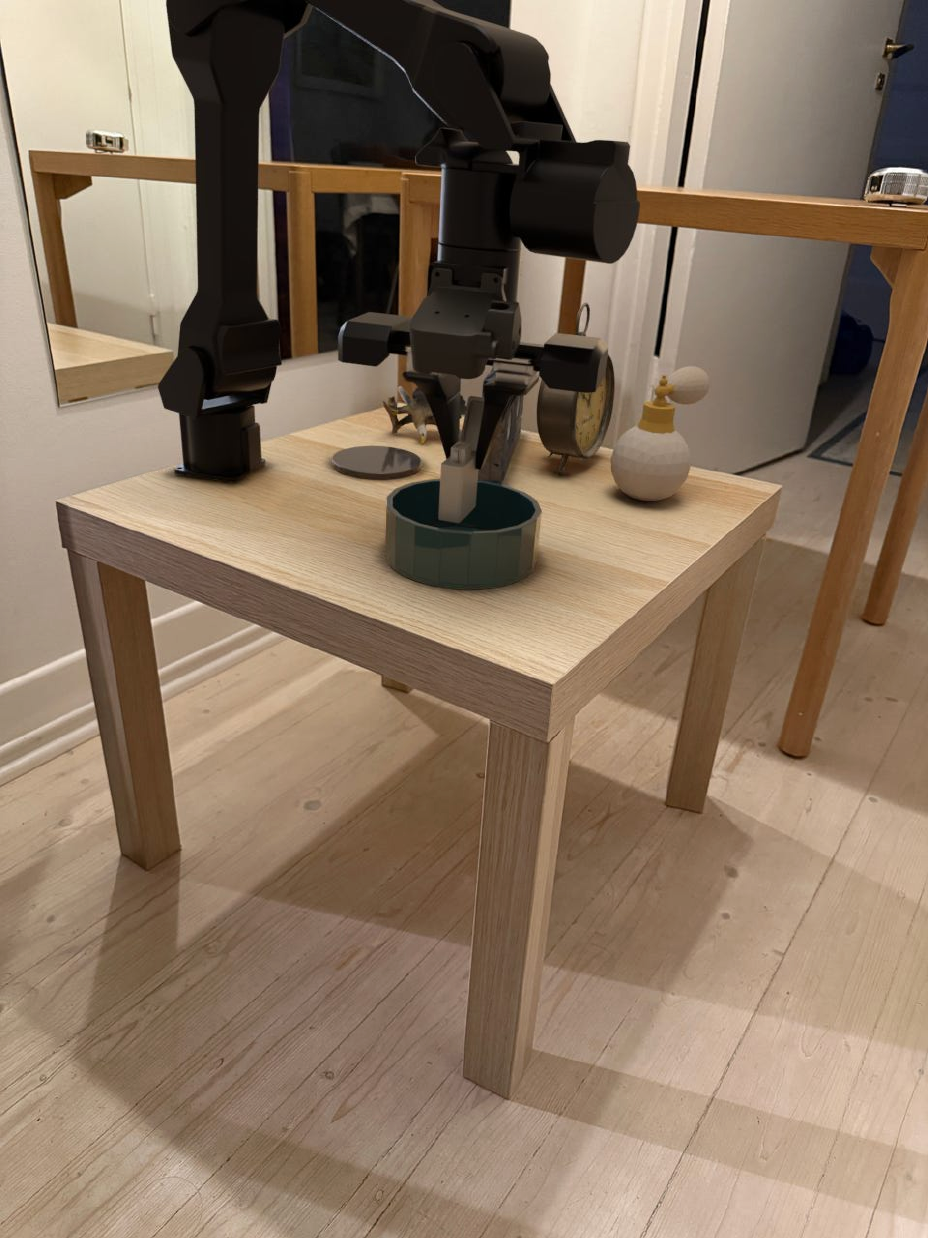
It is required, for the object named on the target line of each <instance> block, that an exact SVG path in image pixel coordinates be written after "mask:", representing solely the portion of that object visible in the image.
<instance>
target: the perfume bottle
mask: <svg viewBox="0 0 928 1238" xmlns="http://www.w3.org/2000/svg"><path fill="white" fill-rule="evenodd" d="M658 383H659V384H658V385H657V386H656V387H655V388H654V390H653V391H654V395H655V398H653V400H651V401H645V402H644V403H643V406H642V414H641V418H640V420H639V422H638V423H637V425H635V426H633V427H631V428H630V429H627V430H626V431H625V432H624V433H623V434H622V435H621V436H620V437H619V439H618V440H617V441H616V442H615V445H614V446H613V449H612V453H611V456H610V472H611V474H612V477H613V481H614V483H615V484H616V485H617V487H618V488H619V489H620V490H621V492H622V493H624V494H626V496H629V497H630V498H632V499H635V500H639V501H641V502H642V501H643V502H659V501H662V500H666V499H669V498H671V497H672V496H673V495H674V494H676V493H677V492H679V490H681V488H682V487H683V485H684V484H685V482H686V481H687V480H688V476H689V474H690V471H691V468H692V467H691V466H692V465H691V463H692V460H691V451H690V448H689V446H688V444H687V441H686V440H685V437H683V436H682V435H681V434H680V433H679V432H678V431H677V430H676V429H675V425H674V420H675V419H674V418H675V411H676V406H675V405H674V404H672V403H669V402H668V400H667V398H668V399H669V400H670V401H672V402H674V403H676V404H679V405H687V406H688V405H692V404H696V403H698V402H700V401H701V400H703V399H704V398H705V397H706V395H707V394H708V392H709V390H710V378H709V376H708V374H707V373H706V371H704V370H703V369H702V368H700V367H698V366H694V365H693V366H692V365H688V366H684V367H681V368H679V369H676V370H675V371H674V372H672V373H671V374H670V375H669V376H668V378H667V375H666V374H662V376H661V378H660V379H659V380H658ZM666 397H667V398H666Z"/></svg>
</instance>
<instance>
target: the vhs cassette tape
mask: <svg viewBox="0 0 928 1238" xmlns="http://www.w3.org/2000/svg"><path fill="white" fill-rule="evenodd" d="M494 376H495V372H493V367H492V368H491V370H490V373H487V376H486V377H485V378H484V379H483V381H482V392H481V397H483V398H484V385H485V384H486V383H487V382H489V381H490V380H491V379H492V378H493V377H494ZM523 406H524V396H517V397H516V399H515V400H514V402H513V404H512V405H511V407H510V409H509V411H508V412H507V414H506V417H505V419H504V421H503V423H502V425H501V428H500V430H499V432H498V435H497V437H496V439H495V441H494V444H493V446H492V448H491V451H490V453H489V455H488V458H487V460H486V462H485V464H484V466H483V468H482V469H481V470H478V479H477V480H482V481H483V480H484V481H488V482H493V483H498V484H503V481H504V479H505V476H506V474H507V471H508V469H509V466H510V463H511V461H512V459H513V455H514V453H515V450H516V448H517V445H518V442H519V439H520V436H521V434H522V415H523V411H524V410H523V409H524V407H523Z"/></svg>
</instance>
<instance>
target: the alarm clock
mask: <svg viewBox="0 0 928 1238" xmlns="http://www.w3.org/2000/svg"><path fill="white" fill-rule="evenodd" d="M585 308H586V319H585V320H586V321H585V324H584V328H583V330H582V331H580V329H579V324H580V320H581V317H582V313H583V311H584V309H585ZM590 316H591V308H590V304H589V303H588V302H584V303H582V304H581V306H580V307H579V309H578V312H577V315H576V321H575V335H578V336H587V334H586V333H587V331H588V328H589V323H590ZM614 368H615V367H614V363H613V361H612V358H611V356H610V354H609V353H608V358H607V366H606V373H605V378H604V379H603V381H602V382H601V384H600V386H599V387H598V389H597V390H596V392H591V393H583V392H575V391H567V390H559V389H551V388H548V386H547V385H546V384H545V382H544V381H543V380H542V379H541V380H540V385H539V388H538V389H539V390H538V393H537V394H538V395H537V401H536V427H537V433H538V436H539V439H540V442H541V444H542V445H543V447H544V448H545V450H547V451H548V452H549V454H548V456H547V458H548V459H550V457H551V456H553V455H555V456H561V457H560V461H559V469H558V470H557V472H556V473H557V475H558V476H563V475H564V474H565V473H564V469H565V468H566V466H567V463H568V460H569V458H575V459H580V460H589V459H591V458H592V457H594V456H595V455H596V453H598V451H599V450H600V448H601V446H602V444H603V442H604V440H605V437H606V435H607V433H608V429H609V426H610V423H611V419H612V414H613V409H614V408H613V406H614V401H615V383H616V381H615V380H616V379H615V370H614Z"/></svg>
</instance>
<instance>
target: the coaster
mask: <svg viewBox="0 0 928 1238" xmlns="http://www.w3.org/2000/svg"><path fill="white" fill-rule="evenodd" d="M331 466H332V467H333V469H334V470H336V471H337V472H339V473H341V474H344V475H347V476H351V477H355V478H361V479H368V480H369V479H370V480H391V479H392V480H393V479H400V478H406V477H408V476H409V477H410V476H412V475H415V474H417V473H418V472H419V471H420V470H421V468H422V459H421V457H420V456H419V455H418V454H416V453H414V452H412V451H411V450H407V449H404V448H399V447H394V446H387V445H386V446H385V445H358V446H351V447H347V448H344V449H340V450H337V452H335V453H333V455H332V456H331Z"/></svg>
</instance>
